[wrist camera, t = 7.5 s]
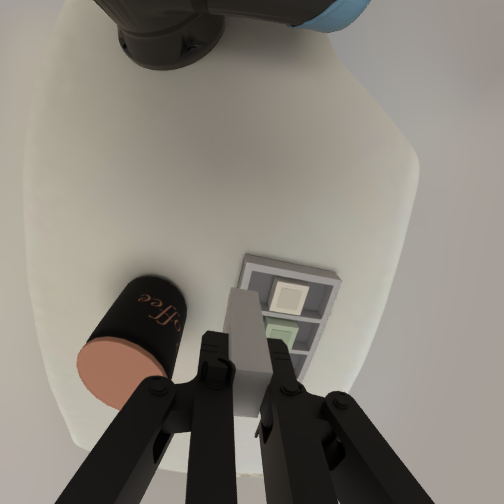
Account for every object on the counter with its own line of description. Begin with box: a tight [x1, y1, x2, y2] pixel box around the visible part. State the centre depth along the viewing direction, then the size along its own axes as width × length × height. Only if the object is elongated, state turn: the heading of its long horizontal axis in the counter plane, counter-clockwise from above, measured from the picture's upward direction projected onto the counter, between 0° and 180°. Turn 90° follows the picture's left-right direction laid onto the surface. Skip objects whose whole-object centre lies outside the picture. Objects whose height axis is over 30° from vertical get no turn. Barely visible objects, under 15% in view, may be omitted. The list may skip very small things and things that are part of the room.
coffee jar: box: [77, 276, 187, 410], centre depth 35 cm, size 11×11×18 cm
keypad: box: [237, 254, 342, 383], centre depth 45 cm, size 26×14×3 cm, turn 167°
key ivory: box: [267, 275, 309, 315], centre depth 41 cm, size 5×5×3 cm
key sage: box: [264, 316, 299, 353], centre depth 42 cm, size 5×5×3 cm
